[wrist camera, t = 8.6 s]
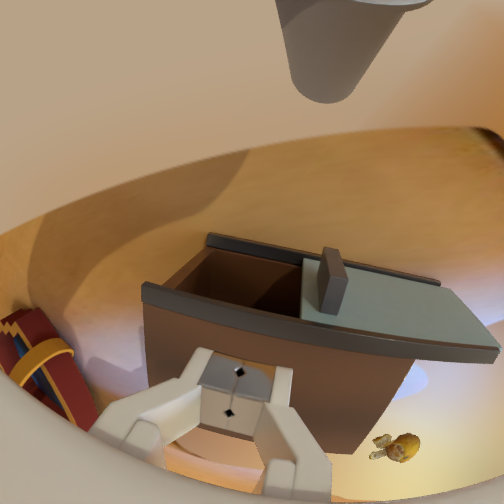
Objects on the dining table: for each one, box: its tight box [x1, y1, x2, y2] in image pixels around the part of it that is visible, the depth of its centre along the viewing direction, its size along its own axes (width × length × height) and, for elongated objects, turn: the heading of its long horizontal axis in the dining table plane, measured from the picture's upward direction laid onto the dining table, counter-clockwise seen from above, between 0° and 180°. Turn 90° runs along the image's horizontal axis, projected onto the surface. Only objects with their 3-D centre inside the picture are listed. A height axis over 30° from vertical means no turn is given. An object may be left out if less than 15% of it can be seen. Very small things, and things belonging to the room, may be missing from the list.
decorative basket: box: [0, 308, 99, 432], centre depth 37 cm, size 34×29×15 cm
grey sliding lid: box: [299, 247, 502, 354], centre depth 20 cm, size 3×16×11 cm, turn 81°
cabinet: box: [141, 232, 500, 454], centre depth 23 cm, size 12×25×13 cm, turn 81°
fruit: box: [369, 433, 420, 463], centre depth 32 cm, size 8×8×4 cm
